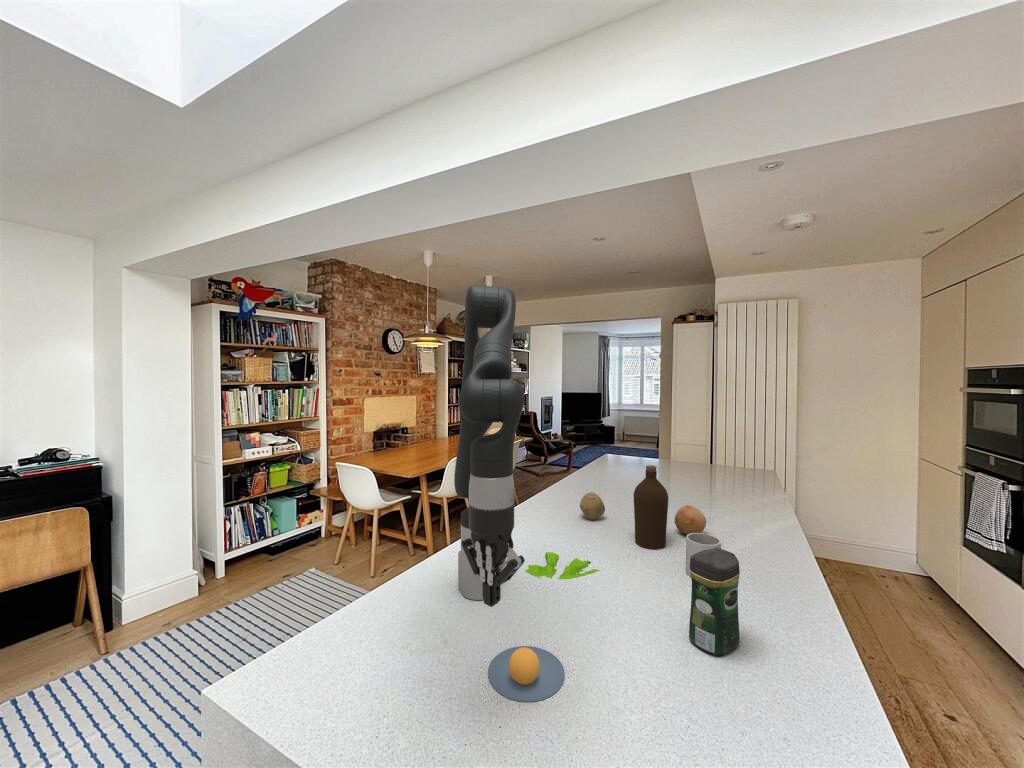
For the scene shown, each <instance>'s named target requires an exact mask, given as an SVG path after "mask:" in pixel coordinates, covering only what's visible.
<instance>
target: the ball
mask: <svg viewBox="0 0 1024 768" xmlns="http://www.w3.org/2000/svg"><path fill="white" fill-rule="evenodd" d="M539 669H540V663H539V659H538V657H537V655H536V654H535V652H534V651H533V650H531V649H529V648H525V647H523V648H519V649H517V650H516V651H514V653H513V654H512V655H511V658H510V661H509V671H510V674H511V676H512V678H513V679H514V680H515V681H516V682H517V683H519V684H522V685H527V684H530V683H532V682H533V681H534V680H535V679H536V678H537V676H538V674H539Z"/></svg>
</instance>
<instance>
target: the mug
mask: <svg viewBox="0 0 1024 768" xmlns="http://www.w3.org/2000/svg"><path fill="white" fill-rule="evenodd" d="M685 541H686V544H685V546H686V547H685V575H687V577H688V576H689V578H690V579H691V575H690V570H689V569H690V557H691V556H692V555H694V554H696V553H698V552H701V551H704V550H707V549H712V548H715V547H718V548H720V549H722V540H721V539H720V538H719V537H717V536H715V535H712V534H709V533H703V532H702V533H690V534H688V535H686V540H685Z"/></svg>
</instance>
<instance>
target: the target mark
mask: <svg viewBox="0 0 1024 768" xmlns="http://www.w3.org/2000/svg"><path fill="white" fill-rule="evenodd" d="M523 647H525V648H529V649H531V650H533V651H534V652H535V654H536V655H537V657H538V659H539V663H540V669H539V674H538V676H537V678H536V679H535V680H534V681H533V682H532V683H530V684H527V685H522V684H519V683H517V682H516V681H515V680H514V679H513V678H512V676H511V674H510V671H509V661H510V658H511V655H512V654H513V653H514V651H516V650H517V649H519V648H523ZM565 674H566V672H565V668H564V666H563V663H562V662H561V661H560V660H559V658H558V657H557V656H555V655H554V654H553V653H551V652H550V651H548V650H546V649H544V648H541V647H536V646H531V645H530V646H529V645H519V646H514V647H510V648H509V647H508V648H507V649H504V650H503V651H500V652H499V653H498V654H496V655H495V656H494V658H492V660H491V661H490V664H489V665H488V669H487V675H488V676H487V677H488V681H489V683H490V685H491V686H492V688H493V689H494V691H496V692H497V693H498V694H499V695H501V696H502V697H504V698H506V699H509V700H512V701H516V702H520V703H536V702H540V701H544V700H547V699H549V698H551V697H553V696H554V695H555V694H556V693H558V691H560V690H561V689H562V686H563V685H564V682H565V678H566V677H565V676H566V675H565Z"/></svg>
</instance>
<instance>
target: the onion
mask: <svg viewBox="0 0 1024 768" xmlns="http://www.w3.org/2000/svg"><path fill="white" fill-rule="evenodd" d="M674 525H675V526H676V528H677V529H678V530H679V532H681V533H682V534H683V535H686V536H687V535H688V534H690V533H703V531H704V530H705V529H706V525H707V519H706V516H705V515H704V513H703V512H702V511H701V510H700V509H699V508H697V507H696V506H694V505H690V504H685V505H683V506H681V507H680V508H679V509H678V510H677V511H676V513H675V515H674Z"/></svg>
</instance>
